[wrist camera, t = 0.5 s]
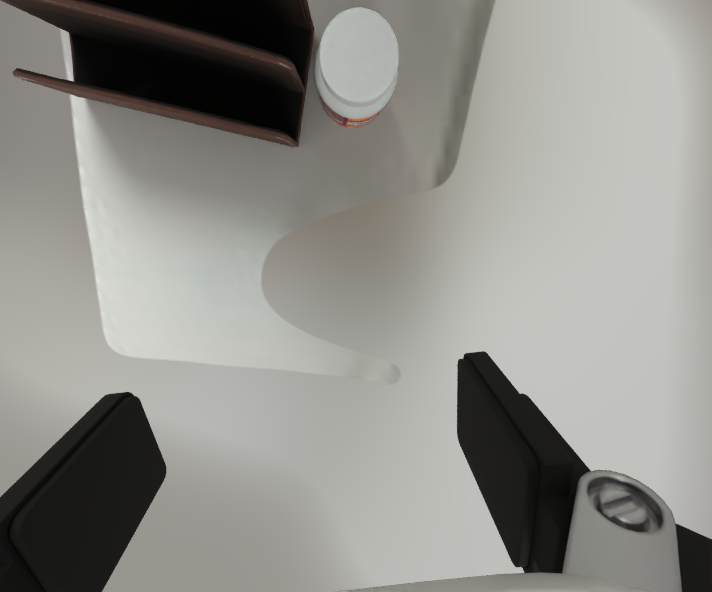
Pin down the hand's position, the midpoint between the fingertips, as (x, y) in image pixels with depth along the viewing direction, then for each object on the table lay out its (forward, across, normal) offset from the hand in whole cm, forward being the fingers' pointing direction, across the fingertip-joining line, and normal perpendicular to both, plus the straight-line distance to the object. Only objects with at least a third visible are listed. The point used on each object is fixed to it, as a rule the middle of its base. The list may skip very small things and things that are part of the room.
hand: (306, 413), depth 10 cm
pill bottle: (+29, -4, -13) cm, 32 cm away
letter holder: (+29, +10, -17) cm, 34 cm away
